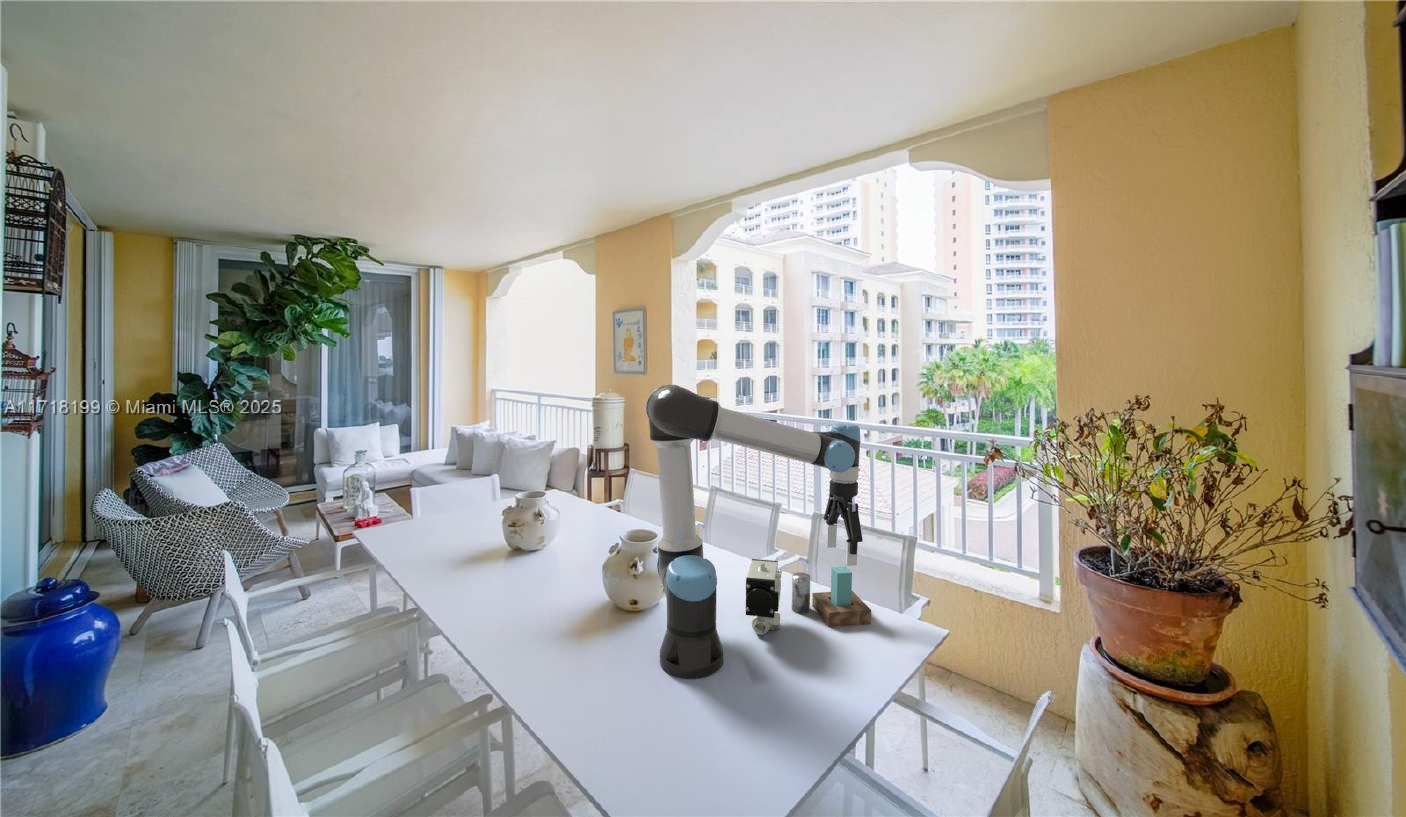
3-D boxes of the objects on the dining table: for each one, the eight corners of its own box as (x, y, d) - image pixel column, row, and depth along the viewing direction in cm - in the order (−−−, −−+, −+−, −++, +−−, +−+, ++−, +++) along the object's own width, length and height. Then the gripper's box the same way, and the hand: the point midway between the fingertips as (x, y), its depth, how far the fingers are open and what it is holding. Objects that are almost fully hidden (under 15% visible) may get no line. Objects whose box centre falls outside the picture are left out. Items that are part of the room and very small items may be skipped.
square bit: (836, 619, 142) (837, 573, 141) (830, 611, 146) (831, 567, 145) (850, 617, 143) (852, 572, 142) (844, 610, 147) (845, 566, 146)
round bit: (795, 614, 145) (795, 580, 144) (789, 606, 150) (790, 572, 149) (812, 613, 145) (812, 578, 145) (806, 605, 150) (806, 571, 149)
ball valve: (778, 648, 128) (779, 578, 126) (744, 644, 129) (744, 575, 128) (782, 613, 145) (783, 552, 144) (752, 610, 147) (752, 550, 145)
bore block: (828, 627, 138) (828, 612, 137) (812, 606, 150) (812, 592, 149) (870, 623, 139) (871, 609, 139) (851, 603, 151) (851, 590, 151)
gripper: (878, 491, 129) (874, 573, 131) (838, 470, 154) (835, 540, 156) (850, 491, 128) (846, 574, 130) (814, 471, 153) (811, 540, 155)
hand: (840, 555), depth 143 cm, fingers open, 13 cm apart
